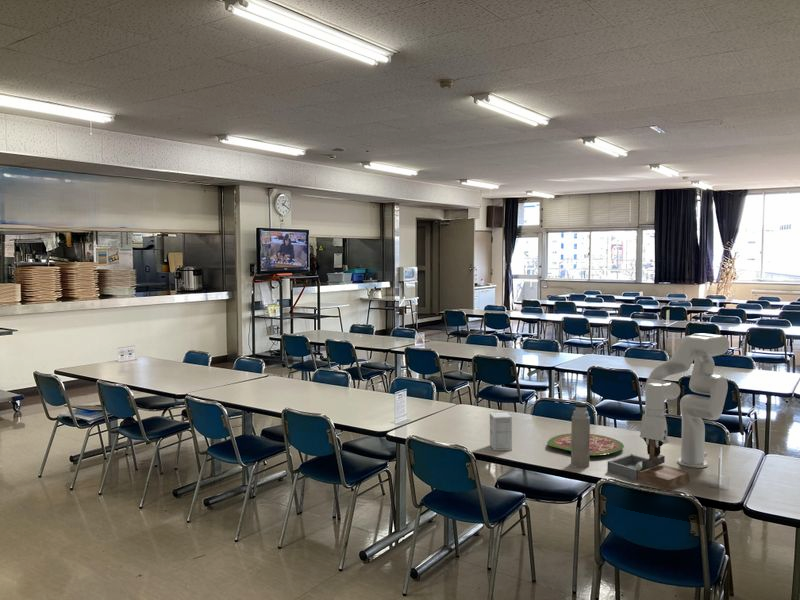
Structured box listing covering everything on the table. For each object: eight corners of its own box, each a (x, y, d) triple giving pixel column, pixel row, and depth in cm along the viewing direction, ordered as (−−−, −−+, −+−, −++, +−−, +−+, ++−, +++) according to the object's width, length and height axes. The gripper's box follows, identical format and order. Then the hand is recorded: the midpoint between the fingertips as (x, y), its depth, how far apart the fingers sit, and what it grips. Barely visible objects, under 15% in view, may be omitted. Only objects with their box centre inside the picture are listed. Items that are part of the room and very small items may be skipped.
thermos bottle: (589, 462, 287) (590, 402, 286) (589, 468, 280) (590, 406, 278) (571, 461, 290) (571, 401, 288) (570, 467, 282) (571, 405, 280)
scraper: (659, 461, 273) (660, 429, 272) (665, 462, 271) (665, 431, 270) (641, 468, 264) (642, 435, 263) (646, 469, 262) (647, 436, 261)
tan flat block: (658, 472, 274) (658, 463, 274) (689, 481, 263) (689, 472, 263) (637, 480, 265) (637, 470, 265) (668, 489, 254) (668, 480, 253)
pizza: (537, 447, 312) (537, 443, 311) (572, 433, 336) (572, 429, 336) (602, 463, 287) (603, 458, 287) (636, 447, 312) (636, 442, 312)
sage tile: (642, 472, 270) (638, 468, 272) (648, 464, 268) (644, 460, 270) (635, 475, 267) (631, 470, 269) (642, 467, 265) (637, 462, 267)
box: (631, 463, 286) (631, 454, 286) (659, 471, 275) (659, 461, 275) (607, 471, 275) (607, 461, 275) (636, 480, 264) (636, 470, 264)
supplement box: (507, 445, 316) (508, 412, 315) (512, 450, 306) (512, 416, 305) (489, 445, 315) (489, 412, 314) (493, 451, 306) (493, 417, 305)
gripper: (632, 410, 270) (631, 451, 271) (667, 417, 257) (666, 461, 259) (642, 407, 275) (641, 448, 276) (677, 414, 262) (676, 457, 263)
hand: (653, 454), depth 267 cm, fingers closed on scraper, 2 cm apart
